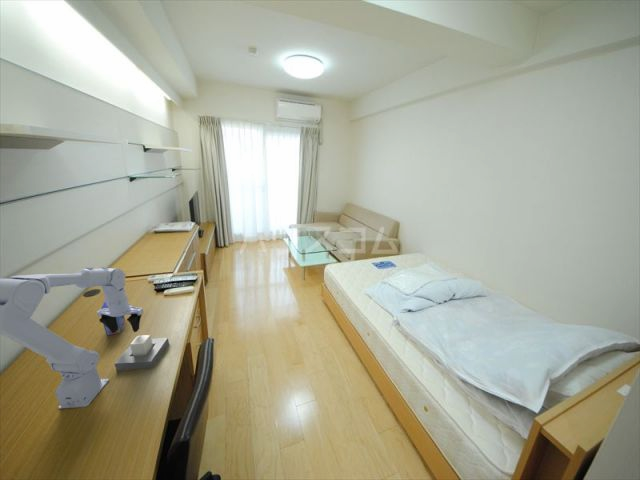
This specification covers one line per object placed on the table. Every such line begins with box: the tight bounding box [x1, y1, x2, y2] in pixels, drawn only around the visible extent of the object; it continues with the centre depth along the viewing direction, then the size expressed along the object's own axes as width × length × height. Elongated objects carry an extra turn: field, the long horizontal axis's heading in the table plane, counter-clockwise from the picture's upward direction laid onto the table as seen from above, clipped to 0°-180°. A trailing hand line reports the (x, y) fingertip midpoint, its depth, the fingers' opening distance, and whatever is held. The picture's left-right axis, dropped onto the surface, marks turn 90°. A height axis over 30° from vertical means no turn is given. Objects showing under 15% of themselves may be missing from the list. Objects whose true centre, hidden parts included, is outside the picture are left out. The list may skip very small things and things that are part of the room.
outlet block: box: [114, 337, 170, 371], centre depth 91 cm, size 12×12×3 cm
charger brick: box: [129, 334, 153, 356], centre depth 91 cm, size 5×4×7 cm
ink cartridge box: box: [100, 299, 126, 336], centre depth 104 cm, size 10×6×14 cm, turn 29°
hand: (126, 330), depth 91 cm, fingers open, 7 cm apart
